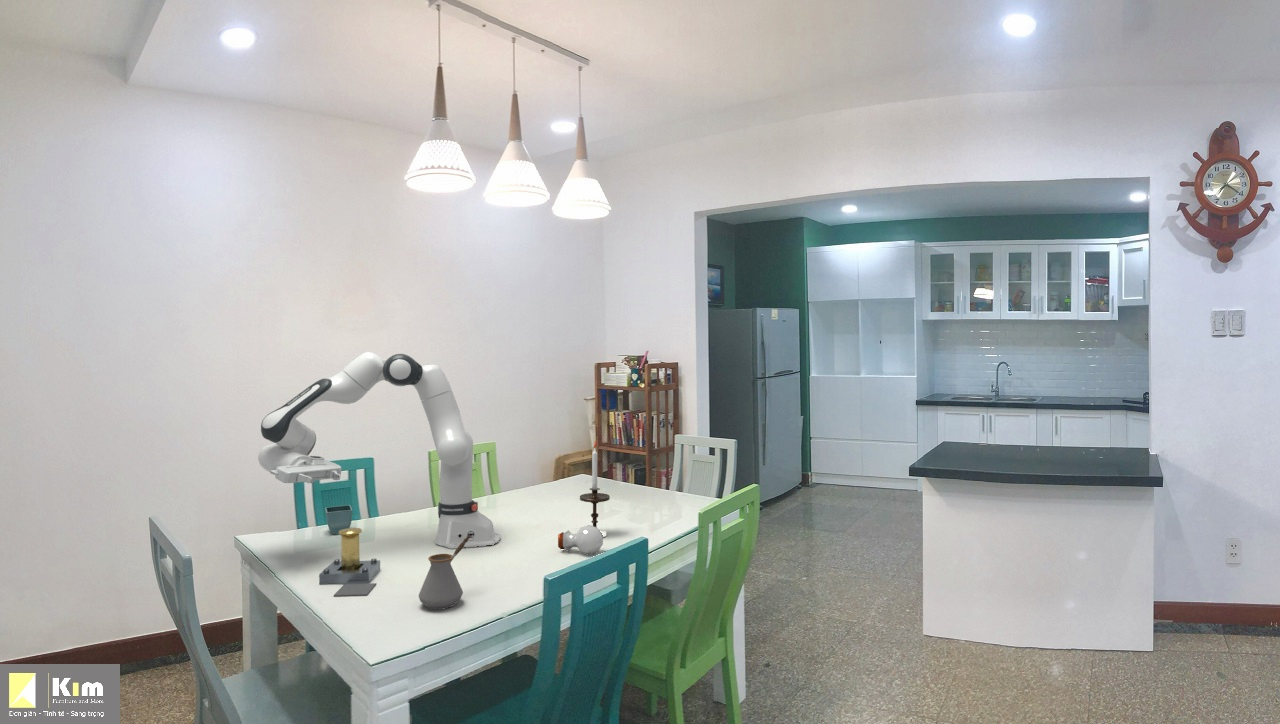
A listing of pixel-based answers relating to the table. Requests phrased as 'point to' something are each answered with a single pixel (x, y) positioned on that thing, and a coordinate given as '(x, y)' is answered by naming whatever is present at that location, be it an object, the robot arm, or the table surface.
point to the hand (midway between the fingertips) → (325, 479)
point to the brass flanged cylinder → (350, 548)
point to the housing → (349, 573)
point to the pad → (355, 589)
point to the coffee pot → (441, 581)
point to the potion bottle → (582, 540)
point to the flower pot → (338, 518)
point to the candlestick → (594, 490)
